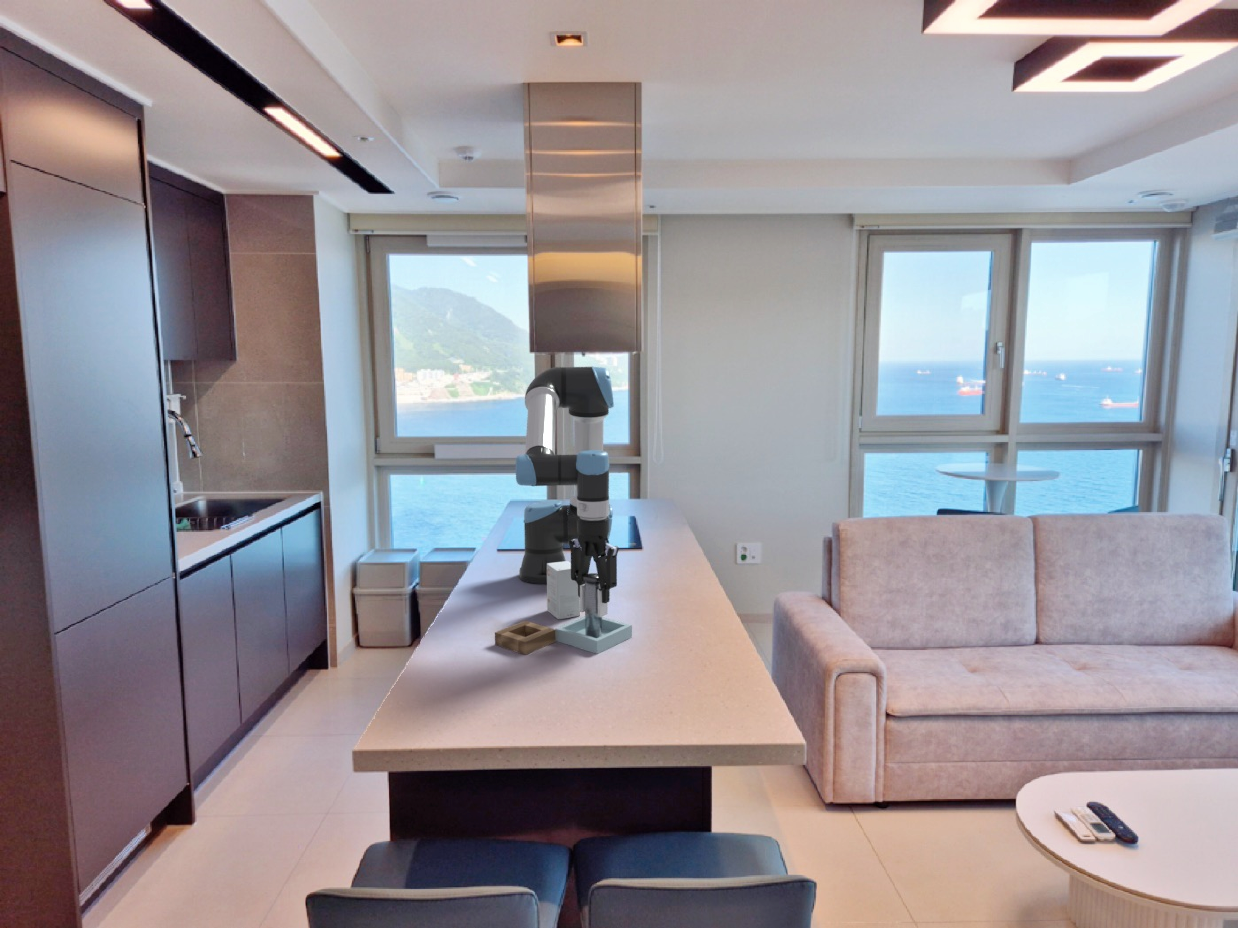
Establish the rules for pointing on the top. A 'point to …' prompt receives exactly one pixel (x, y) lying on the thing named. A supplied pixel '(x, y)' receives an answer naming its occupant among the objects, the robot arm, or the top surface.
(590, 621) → the pin
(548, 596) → the small box
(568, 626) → the tray
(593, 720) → the top surface
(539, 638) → the socket block
